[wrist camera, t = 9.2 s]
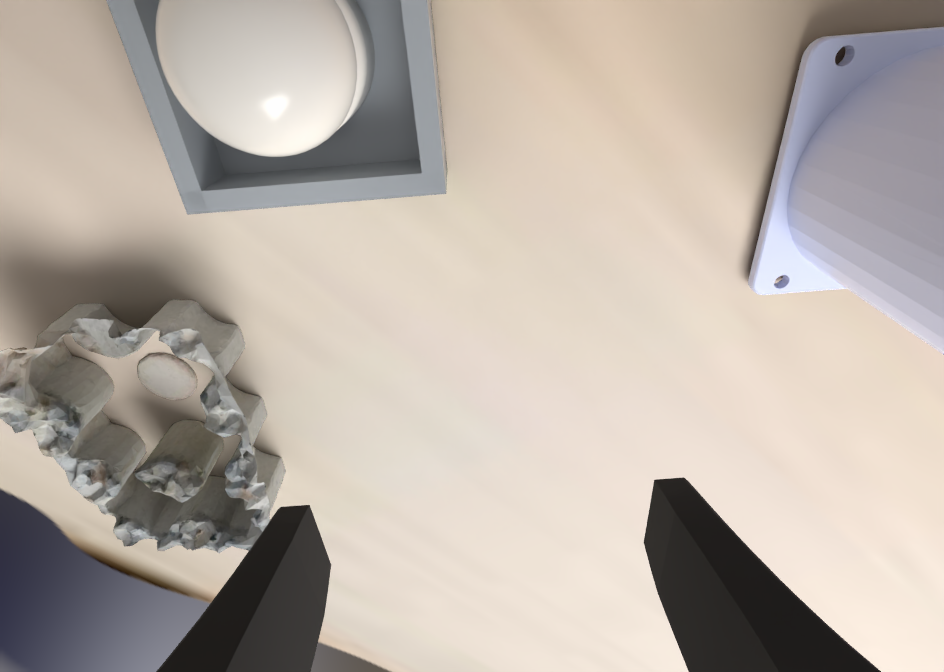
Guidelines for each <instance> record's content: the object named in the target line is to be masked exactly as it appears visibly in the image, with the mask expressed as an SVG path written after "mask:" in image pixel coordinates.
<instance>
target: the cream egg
mask: <svg viewBox="0 0 944 672" xmlns="http://www.w3.org/2000/svg"><path fill="white" fill-rule="evenodd" d="M155 30H156V44H157V50H158V56H159V59H160V63H161V66H162V70H163V72H164V75H165V77H166V79H167V82H168V84H169V86H170V88H171V89H172V91H173V93H174V95H175V96H176V98H177V99H178V101H179V102H180V104H181V105H182V107H183V108H184V109H185V110H186V111H187V113H188V114H189V115H190V116H191V117H192V118H193V119H194V120H195V121H196V122H197V123H198V124H199V125H200V126H201V127H202V128H203V129H204V130H206V131H207V132H208V133H209V134H211V135H212V136H214V137H215V138H217V139H218V140H220V141H221V142H223V143H225V144H227V145H229V146H231V147H233V148H236V149H239V150H241V151H244V152H247V153H251V154H255V155H259V156H267V157H284V156H291V155H297V154H300V153H303V152H306V151H308V150H310V149H313V148H315V147H317V146H318V145H320V144H321V143H323V142H324V141H326V140H327V139H328V138H329V137H331V136H332V135H333V134H334V133H335V132H336V131H337V130H338V129H339V128H340V127H341V126H342V125H343V124H345V123H346V122H347V121H348V120H349V119H350V118H351V117H352V116H353V115H354V114H355V113H356V112H357V111H358V110H359V109H360V107H361V106H362V105H363V103H364V101H365V100H366V98H367V96H368V93H369V91H370V89H371V85H372V81H373V77H374V70H375V51H374V43H373V39H372V34H371V31H370V28H369V25H368V22H367V20H366V18H365V16H364V13H363V12H362V10H361V8H360V6H359V5H358V3H357V2H356V0H160V1H159V5H158V10H157V14H156V27H155Z"/></svg>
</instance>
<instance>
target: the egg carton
mask: <svg viewBox="0 0 944 672" xmlns="http://www.w3.org/2000/svg"><path fill="white" fill-rule="evenodd" d="M156 330H158V331H160V337H159V341H161V342H164V343H165V344H167V345H168V346H170V348H171V350H172V352H173V353H174V354H175V355H176V356H177V357H180V358H187V359H189V360H191V361H195V362H199V363H203V364H205V365H206V366H207V367H209V368H210V369H211V370H212V371H213V373H214V376H213V378H212V380H211V381H210V383H209V384H208V385H207V387H206V388H205V389H204V391H203V392H202V394H201V395H200V398H201V405H202V407H203V409H204V412H205V414H206V416H207V417H206V423H203V422H200V421H195V420H182V421H179V422H176V423H174V424H173V425H172V426H171V427H170V428H169V430H168V431H167V433H166V434H165V435H164V437H163V438H162V439H161V441H160V442H159V444H158V445H157V446H156V448H155V449H154V450H153V452H152V453H151V455H150V456H149V457H148V459H147V460H146V461H145V463H144V464H143V465H142V466H141V467H140V468H139V469H138V470H136V471H135V473H134V472H133V471H134V469H135V468H136V467H137V465H138V464H139V462H140V461H141V459H142V458H143V456H144V455H145V453H146V447H145V443H144V442H143V440H142V439H141V438H140V437H139V436H138V435H137V434H136V433H135V432H134V431H132V430H131V429H128V428H126V427H123V426H120V425H116V424H112V423H111V422H110V421H109V419H108V418H107V416H106V415H105V414H104V413H103V412H102V410H101V409H102V408H103V407H104V405H105V404H106V403H107V402H108V400H109V399H110V398H111V396H112V395H113V392H114V384H113V381H112V379H111V378H110V376H109V375H108V374H107V373H106V372H105V371H104V370H103V369H102V368H101V367H99V366H98V365H97V364H95V363H92V362H90V361H87V360H85V359H82V358H77V357H73V356H72V355H71V354H70V352H69V350H68V349H67V347H66V346H65V344H64V341H63V338H62V337H63V336H64V335H65V334H72V336H73V338H74V340H75V342H77V343H78V344H79V345H81V346H82V347H83V348H85V349H86V350H88V351H91V352H95V353H98V354H101V355H104V356H107V357H113V358H122V357H125V356H128V355H131V354H133V353H134V352H136V351H138V350H139V349H140V348H141V347H142V345H143V344H144V343H145V342H146V341H147V340H148V339H149V338H150V337H151V336H152V335H153V333H154V332H155V331H156ZM244 349H245V342H244V338H243V335H242V332H241V330H240V328H239V326H237V325H234V324H226V323H223V322H220V321H217V320H215V319H214V318H212V317H211V316H210V315H208V314H207V313H206V312H205V311H204V310H203V309H202V307H201V306H200V305H199V303H198V302H196V301H193V300H176V299H175V300H170V301H168V302H167V303H166V304H165V305H164V306H163V308H162V309H161V310H160V311H159V312H158V313H156V314H155V315H154V316H153V317H152V318H151V319H150V321H149V322H148V323H146V324H145V325H144V326H143V327H142V328H135V327H132V326H129V325H127V324H125V323H123V322H121V321H119V320H118V319H117V318H115V317H114V316H113V315H112V314H111V313H110V312H109V310H108V309H107V308H106V307H105V306H104V305H103V304H77V305H75V306H74V307H73V308H71V309H70V310H69V311H68V312H66V313H65V314H64V315H63V316H61V317H60V318H59V319H57V320H56V321H54V322H53V323H52V324H50V325H49V327H48V328H47V329H46V330H45V331H43V332H41V333H40V334H39V335H38V336H37V342H36V346H35V348H34V349H27V348H24V347H23V348H18V349H12V348H8V349H5V350H2V351H0V419H2V420H3V421H4V422H5V423H7V424H8V425H10V426H12V428H13V430H14V432H15V433H18V432H22V431H25V430H28V429H32V431H33V433H34V436H35V438H36V440H37V442H38V445H39V449H40V451H41V452H42V454H43V455H45V456H49V457H54V459H55V460H56V461H57V463H58V464H59V465H60V466H61V467H62V468H63V469H64V470H65V472H66V475H67V477H68V480H69V483H70V486H72V487H73V488H74V489H75V490H77V491H78V492H79V493H80V494H81V495H82V496H83V497H84V498H86V499H87V500H88V501H89V502H91V503H93V504H95V505H98V507H99V509H100V511H101V512H102V513H103V514H105V515H112V516H115V517H116V523H115V526H114V530H113V531H114V533H115V535H116V537H117V538H118V539H120V540H122V541H123V543H124V546H131V545H134V544H135V543H137V542H138V541H139V540H142V539H156V540H157V541H158V542H157V550H158V551H165V550H167V549H169V548H171V547H174V546H176V545H182V546H183V547H185V548H186V549H187V550H188V549H191V550H196V549H200V548H207V549H210V550H214V551H217V552H218V553H220V552H222V551H223V550H225V549H227V548H229V547H231V546H234V547H237V548H241V549H246V550H250V549H251V548H252V546H253V545H254V543H255V542H256V540H257V539H258V538H259V536H260V535H261V533H262V532H263V530H264V529H265V527H266V526H267V525H268V523H269V522H270V519H269V514H270V510H271V509H272V507H273V504H274V502H275V499H276V496H277V493H278V490H279V488H280V486H281V484H282V481H283V477H284V474H285V472H286V470H285V466H284V463H283V461H282V458H281V457H277V456H272V455H268V454H265V453H263V452H261V451H259V450H257V449H256V448H254V446H253V444H254V442H255V440H256V437H257V435H258V433H259V431H260V429H261V427H262V424H263V422H264V421H265V419H266V417H267V410H266V407H265V404H264V401H263V399H262V397H259V396H255V395H251V394H247V393H244V392H242V391H240V390H238V389H237V388H235V387H234V386H232V384H231V383H230V382H229V381H228V379H227V378H226V375H227V374H228V373H229V371H230V370H231V368H232V366H233V365H234V363H235V362H236V361H237V359H238V358H239V357H240V355H241V353H242V352H243V350H244ZM177 357H175V356H173V355H170V354H166V353H154V354H150V355H148V356H147V357H145V358H143V359H142V360H140V363H139V365H138V367H137V371H138V377H139V379H140V381H141V383H142V384H143V385H144V386H145V387H146V388H147V389H148V390H149V391H151V392H152V393H154V394H155V395H158V396H160V397H162V398H165V399H169V400H180V399H185V398H187V397H189V396H191V395H192V394H193V393H194V391H195V389H196V388H197V376H196V374H195V372H194V370H193V369H192V368H191V367H190V366H189V365H188V364H187V363H186V362H184V361H183V360H181V359H179V358H177ZM236 434H237V435H240V436H241V437H242V440H241V442H240V443H239V446H238V448H237V450H236V452H235V454H234V456H233V458H232V459H231V460H230V461H229V463H228V464H227V466H226V468H225V473H224V474H225V475H226V478H224V477H219V476H209V474H210V472H211V471H212V469H213V467H214V465H215V463H216V461H217V459H218V457H219V456H220V454H221V452H222V450H223V446H224V443H223V439H222V437H228V436H231V435H236ZM221 436H222V437H221Z"/></svg>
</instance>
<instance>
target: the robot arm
mask: <svg viewBox="0 0 944 672" xmlns="http://www.w3.org/2000/svg"><path fill="white" fill-rule="evenodd" d="M842 47H844V48H845V56H844V58H843V60H842V61H841V62H840V63H839V64H837V65H836V63H835V56H836V54H837V52H838V51H839V50H840V49H841V48H842ZM782 275H783V278H782V280H781V281H779V282H778V283H775V284H774V282H775V280H776V279H777V278H778V277H779V276H782ZM748 285H749V287H750V288H751V289H752V290H753V291H754V292H755V293H757V294H759V295H769V294H782V293H795V292H808V291H821V290H834V289H848V290H850V291H851V292H853V293H854V294H855V295H857V296H858V297H860V298H861V299H863V300H864V301H866V302H867V303H869V304H870V305H872V306H873V307H875V308H876V309H877V310H879V311H880V312H882V313H883V314H885V315H886V316H888V317H889V318H891V319H892V320H894V321H895V322H897V323H898V324H899V325H901V326H902V327H904V328H905V329H907V330H908V331H910V332H911V333H913V334H914V335H916V336H917V337H919V338H920V339H921V340H923V341H924V342H926V343H927V344H929V345H930V346H932V347H933V348H935V349H936V350H938V351H939V352H941V353H942V354H943V355H944V27H933V28H921V29H909V30H897V31H885V32H873V33H861V34H849V35H837V36H825V37H821V38H818V39H816V40H815V41H813V42H812V43H810V45H809V46H808V47H807V48H806V50H805V51H804V54H803V56H802V59H801V63H800V67H799V71H798V75H797V80H796V84H795V88H794V92H793V96H792V100H791V105H790V109H789V113H788V117H787V121H786V125H785V130H784V134H783V138H782V142H781V146H780V150H779V155H778V159H777V163H776V167H775V171H774V175H773V180H772V184H771V188H770V192H769V196H768V200H767V205H766V209H765V213H764V217H763V221H762V225H761V230H760V234H759V238H758V242H757V246H756V250H755V255H754V259H753V263H752V267H751V271H750V275H749V280H748ZM644 545H645V549H646V552H647V556H648V560H649V564H650V567H651V571H652V574H653V578H654V581H655V585H656V588H657V592H658V595H659V597H660V600H661V602H662V605H663V608H664V610H665V613H666V615H667V618H668V620H669V623H670V625H671V628H672V631H673V633H674V636H675V638H676V641H677V643H678V646H679V648H680V651H681V653H682V656H683V658H684V661H685V663H686V666H687V668H688V671H689V672H881V671H880V670H878V669H877V668H876V667H875V666H874V665H873V664H871V663H870V662H869V661H868V660H867V659H866V658H864V657H863V656H862V655H861V654H860V653H858V652H857V651H856V650H855V649H854V648H853V647H852V646H850V645H849V644H848V643H847V642H846V641H845V640H844V639H843V638H841V637H840V636H839V635H838V634H837V633H836V632H835V631H834V630H833V629H832V628H830V627H829V626H828V625H827V624H826V623H825V622H824V621H823V620H822V619H821V618H820V617H819V616H817V615H816V614H815V613H814V612H813V611H812V610H811V609H810V608H809V607H808V606H807V605H806V604H805V603H804V602H803V601H801V600H800V599H799V598H798V597H797V596H796V595H795V594H794V593H793V592H792V591H791V590H790V589H789V588H788V587H787V586H786V585H785V584H784V583H783V582H782V581H781V580H780V579H779V578H778V577H777V576H776V575H775V574H774V573H773V572H772V571H771V570H770V569H769V568H768V567H767V566H766V565H765V564H764V563H763V562H762V561H761V560H760V559H759V558H758V557H757V556H756V555H755V554H754V553H753V552H752V551H751V550H750V548H749V547H748V546H747V545H746V544H745V543H744V542H743V541H742V540H741V539H740V538H739V537H738V536H737V535H736V534H735V533H734V531H733V530H732V529H731V528H730V527H729V526H728V525H727V524H726V523H725V522H724V521H723V520H722V518H721V517H720V516H719V515H718V514H717V513H716V512H715V511H714V510H713V508H712V507H711V506H710V505H709V504H708V503H707V502H706V501H705V499H704V498H703V497H702V496H701V495H700V494H699V493H698V492H697V490H696V489H695V488H694V487H693V486H692V485H691V484H690V483H689V481H687V480H686V479H685V478H673V479H659V480H654V486H653V492H652V498H651V503H650V509H649V515H648V521H647V527H646V533H645V538H644ZM330 569H331V563H330V561H329V558H328V555H327V552H326V549H325V547H324V544H323V541H322V538H321V536H320V533H319V530H318V527H317V525H316V522H315V519H314V516H313V513H312V511H311V508H310V505H303V506H289V507H280V508H279V509H278V510H277V512H276V513H275V515H274V516H273V517H272V519H271V520H270V522H269V523H268V525H267V526H266V527H265V529H264V530H263V532H262V533H261V535H260V536H259V538H258V539H257V540H256V542H255V543H254V545H253V546H252V548H251V549H250V550H249V552H248V553H247V555H246V556H245V557H244V559H243V560H242V562H241V563H240V565H239V566H238V567H237V569H236V570H235V572H234V573H233V574H232V576H231V577H230V578H229V580H228V581H227V582H226V584H225V585H224V586H223V588H222V589H221V590H220V592H219V593H218V594H217V596H216V597H215V598H214V600H213V601H212V603H211V604H210V605H209V607H208V608H207V609H206V611H205V612H204V613H203V615H202V616H201V617H200V619H199V620H198V621H197V622H196V623H195V625H194V626H193V627H192V629H191V630H190V631H189V632H188V633H187V635H186V636H185V637H184V638H183V640H182V641H181V642H180V643H179V645H178V646H177V647H176V648H175V650H174V651H173V652H172V653H171V655H170V656H169V657H168V658H167V659H166V661H165V662H164V663H163V664H162V666H161V667H160V668H159V669H158V670H157V672H310V671H311V667H312V663H313V659H314V655H315V651H316V647H317V643H318V639H319V635H320V631H321V627H322V622H323V618H324V613H325V606H326V599H327V592H328V585H329V577H330Z"/></svg>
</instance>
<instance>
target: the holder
mask: <svg viewBox="0 0 944 672" xmlns="http://www.w3.org/2000/svg"><path fill="white" fill-rule="evenodd" d="M106 1H107V3H108V6H109V9H110V11H111V14H112V16H113V19H114V22H115V24H116V27H117V30H118V32H119V35H120V38H121V40H122V43H123V46H124V48H125V51H126V53H127V56H128V59H129V61H130V64H131V67H132V69H133V72H134V75H135V77H136V80H137V82H138V85H139V88H140V90H141V93H142V96H143V98H144V101H145V104H146V106H147V109H148V112H149V114H150V117H151V119H152V122H153V125H154V127H155V130H156V133H157V135H158V138H159V141H160V143H161V146H162V148H163V151H164V154H165V156H166V159H167V162H168V164H169V167H170V170H171V172H172V175H173V178H174V180H175V183H176V185H177V188H178V191H179V193H180V196H181V199H182V201H183V204H184V207H185V209H186V212H187V214H200V213H212V212H225V211H237V210H250V209H262V208H275V207H287V206H300V205H312V204H324V203H337V202H349V201H362V200H374V199H387V198H399V197H412V196H424V195H436V194H446V187H447V163H446V153H445V142H444V132H443V121H442V111H441V101H440V90H439V80H438V69H437V59H436V48H435V38H434V27H433V17H432V6H431V0H356V2H357V3H358V5H359V6H360V8H361V10H362V12H363V13H364V16H365V18H366V20H367V22H368V25H369V28H370V31H371V34H372V39H373V43H374V51H375V70H374V77H373V81H372V85H371V89H370V91H369V93H368V96H367V98H366V100H365V101H364V103H363V105H362V106H361V107H360V109H359V110H358V111H357V112H356V113H355V114H354V115H353V116H352V117H351V118H350V119H349V120H348V121H347V122H346V123H345V124H343V125H342V126H341V127H340V128H339V129H338V130H337V131H336V132H335V133H334V134H333V135H332V136H331V137H329V138H328V139H327V140H326V141H324V142H323V143H321V144H320V145H318V146H317V147H315V148H313V149H310V150H308V151H306V152H303V153H300V154H297V155H291V156H284V157H267V156H259V155H255V154H251V153H247V152H244V151H241V150H239V149H236V148H233V147H231V146H229V145H227V144H225V143H223V142H221V141H220V140H218V139H217V138H215V137H214V136H212V135H211V134H209V133H208V132H207V131H206V130H204V129H203V128H202V127H201V126H200V125H199V124H198V123H197V122H196V121H195V120H194V119H193V118H192V117H191V116H190V115H189V114H188V113H187V111H186V110H185V109H184V108H183V107H182V105H181V104H180V102H179V101H178V99H177V98H176V96H175V95H174V93H173V91H172V89H171V88H170V86H169V84H168V82H167V79H166V77H165V75H164V72H163V70H162V66H161V63H160V59H159V56H158V50H157V44H156V30H155V27H156V14H157V10H158V5H159V1H160V0H106Z"/></svg>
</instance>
